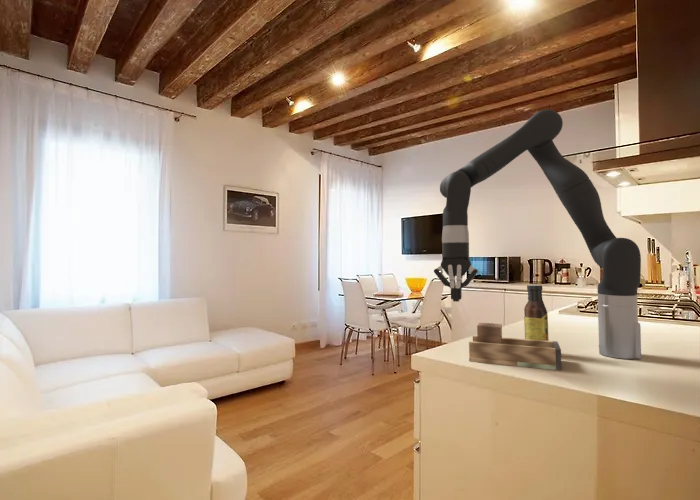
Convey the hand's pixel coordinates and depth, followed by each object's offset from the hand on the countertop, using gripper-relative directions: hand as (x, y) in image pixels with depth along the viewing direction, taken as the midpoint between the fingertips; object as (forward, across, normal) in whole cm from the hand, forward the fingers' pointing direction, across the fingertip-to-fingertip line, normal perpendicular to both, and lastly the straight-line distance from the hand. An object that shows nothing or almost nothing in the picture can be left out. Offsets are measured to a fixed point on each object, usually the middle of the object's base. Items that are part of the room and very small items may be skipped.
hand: (456, 301), depth 109 cm
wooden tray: (+16, -15, 0) cm, 22 cm away
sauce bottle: (+16, -21, -11) cm, 28 cm away
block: (+14, -9, 0) cm, 17 cm away
